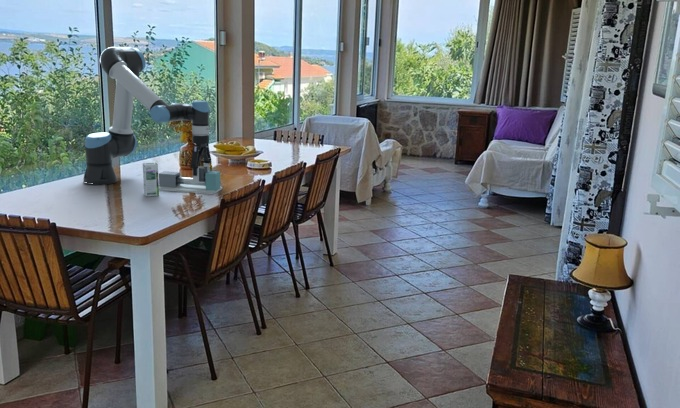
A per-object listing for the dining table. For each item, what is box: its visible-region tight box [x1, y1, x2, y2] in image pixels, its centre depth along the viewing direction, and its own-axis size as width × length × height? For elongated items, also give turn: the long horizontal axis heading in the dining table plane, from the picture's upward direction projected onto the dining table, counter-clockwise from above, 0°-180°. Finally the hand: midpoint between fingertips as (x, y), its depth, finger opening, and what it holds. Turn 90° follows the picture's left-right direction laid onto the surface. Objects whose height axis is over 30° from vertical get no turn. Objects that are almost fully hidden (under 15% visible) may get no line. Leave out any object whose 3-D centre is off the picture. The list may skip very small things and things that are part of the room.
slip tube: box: [176, 165, 208, 186], centre depth 280 cm, size 22×4×9 cm, turn 82°
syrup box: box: [142, 162, 160, 197], centre depth 266 cm, size 6×6×14 cm
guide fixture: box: [158, 170, 223, 195], centre depth 281 cm, size 28×12×9 cm, turn 82°
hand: (201, 179), depth 280 cm, fingers open, 13 cm apart
